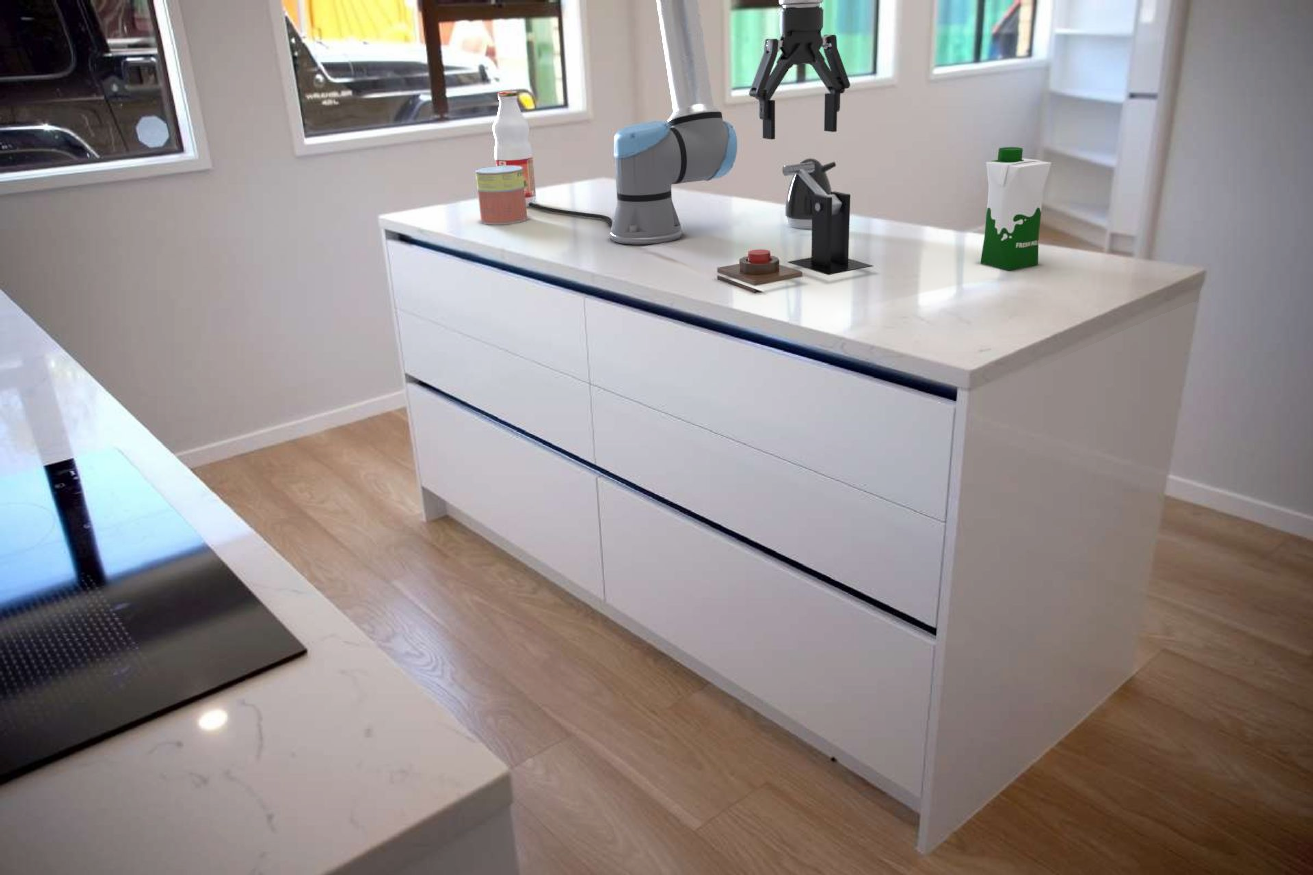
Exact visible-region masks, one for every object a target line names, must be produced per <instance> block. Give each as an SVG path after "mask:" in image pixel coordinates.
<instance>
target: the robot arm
mask: <svg viewBox="0 0 1313 875" xmlns="http://www.w3.org/2000/svg"><path fill="white" fill-rule="evenodd" d="M823 3H824V0H778V5H780V6H782V8H780V11H779V12H778V18H779V19H778V20H779V21H778V29H779V31H780V38H779V39H778V38H766V39H765V40H764V46H763V54H762V56H761V58H760V61H759V65H758V67H757V69H756V73H755V75H754V77H753V81H752V83H751V85H750V88H749V91H748V95H749V97H751V98H755V99H756V100H758V109H759V111H758V115H759V119H760V120H762V139H764V140H765V139H766V140H776V100H775V99H772V97H774V94H775V93H776V91H777V89H778V87H779V86H780V85H781V83H782V81H783V79H784V78H785V76H786V75H787V73H788V72H789V71H790V69H791V68H792V67H793V66H795V65H796V66H799V65H800V66H801V65H810V66H811V67H812V68H813V70H814V72H815V73H816V75H817V76H818V77H819V79H820V81H821V82H822V83H823V85H824V86H825V87H826V90H827V91H828V92H826V93H824V111H823V112H824V113H823V114H824V115H823V116H824V119H823V120H824V121H823V122H824V123H823V125H824V127H823V130H824V132H830V133H836V132H837V129H838V112H840V110H841V94H844V93H845V91H846V89H847V90H848V89H850V87H851V83H850V80H849V77H848V74H847V71H846V69H845V66H844V63H843V60H842V57H841V55H840V52H839V49H838V39H837V35H836V34H824V35H823V36H822V30H823V28H824V8H823V7H822V6H821V4H823ZM656 7H657V12H658V20H659V26H660V33H661V40H662V46H663V52H664V59H665V65H666V72H667V78H668V85H669V91H670V98H671V103H672V113H671V115H670V117H669V118H668V119H667V121H663V120H654V121H649V122H646V121H645V122H640V123H635V124H633V125H628V126H625V127H622V128H621V129H619V130H618V131H617V132H616V133H615V135H614V137H613V153H612V154H613V160H614V174H615V189H616V206H615V210H614V214H613V219H612V218H611V217H610V216H608V215H604V214H600V213H599V214H598V213H590V212H582V211H573V210H567V209H562V208H555V207H549V206H544V205H540V204H537V203H536V204H534V203H531V202H530V203H529V206H530V207H531V208H533V209H536V210H541V211H544V212H549V213H555V214H562V215H566V216H567V215H568V216H574V217H575V216H576V217H583V218H592V219H599V220H603V221H606V222H607V223H608V225H609V226H610V240H611V241H612V242H614V243H618V244H622V245H638V246H641V245H642V246H644V245H645V246H646V245H658V244H663V243H669V242H673V241H676V240H679V239H680V238H681V237H682V236H683V235H682V234H683V233H682V225H681V222H680V218H679V216H678V214H677V210H676V208H675V205H674V203H673V199H672V198H673V196H672V186H673V185H678V184H686V183H687V184H688V183H695V182H703V181H705V182H709V181H712V180H715V179H719V178H720V179H721V178H723V177H725V176H727V175H728V174H729V173H730V171H732V169H733V166H734V164H735V162H736V158H737V153H738V138H737V133H736V130H735V128H734V126H733V125H732V124H731V122H728V121H727V120H724V118H723V113H722V110H721V109H720V108H718V107H717V106H715V104H714V99H713V93H712V86H711V80H710V79H711V78H710V74H709V66H708V59H707V53H706V52H707V51H706V46H705V45H706V44H705V39H704V38H705V37H704V32H703V24H702V19H701V18H702V17H701V12H700V11H701V10H700V4H699V0H656ZM821 48H822V49H823V53H824V55H823V54H822V52H821ZM780 51H781V53H780V55H779V57H778V58H777V56H778V53H779V52H780ZM824 56H825V57H824ZM776 59H777V60H776ZM826 61H827V62H826ZM775 62H776V64H775ZM774 65H775V66H774ZM773 67H774V68H773ZM530 207H529V208H530Z"/></svg>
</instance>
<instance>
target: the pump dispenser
mask: <svg viewBox="0 0 1313 875" xmlns="http://www.w3.org/2000/svg"><path fill="white" fill-rule="evenodd" d="M809 162H812V163H814V166H815V169H814V171H813V172H810V173H808V174H809V175H810V176H811V177H812V178H813V179H814V180H815V182H816V183H817V184H818V185H819V186H820V187H821V188H822V189H823V190H824V191H825V192H826V194H827V195H830V194H831V192H833V190H832V186H831V183H830V180H829V176H828V175H827V172H828V171H830V170H831V169H833V168H836V167H837V163H836V161H832V162H829V163H826V164H823V165H822V163H821V162H820V160H817V159H816V158H811V157H810V158H809V157H808V158H805V159H803V160H802V161H801V162H799V164H802V163H809ZM814 194H815V193H814V192H813V190H812V189H811V188H810V187H809V186H808V185H807V184H806V183H805V182H804V181H803V179H802V178H801V177H800V176H799V175H798V174H796V175H792V177H791V180H790V183H789V186H788V190H787V195H786V200H785V207H784V209H785V210H784V215H785V217H786V221H787V223H788V225H789V227H790V228H793V229H798V230H812V195H814Z"/></svg>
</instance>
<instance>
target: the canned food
mask: <svg viewBox="0 0 1313 875" xmlns="http://www.w3.org/2000/svg"><path fill="white" fill-rule="evenodd" d="M474 173H475V179H476V187H477V196H478V206H479V214H480V223H482V224H484V225H490V226H491V225H492V226H494V225H495V226H499V225H501V226H502V225H511V224H519V223H521V222H522V223H523V222H524V221H527V220H528V219H529V217H528V211H527V207H526V199H525V189H524V178H523V167H521V166H496V165H495V166H494V165H493V166H486V167H480V168H476V169H475V170H474Z"/></svg>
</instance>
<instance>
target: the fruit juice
mask: <svg viewBox="0 0 1313 875" xmlns="http://www.w3.org/2000/svg"><path fill="white" fill-rule="evenodd" d="M518 97H519V94H518V91H517V90H502V91H497V98H498V100H499V106H498V111H497V115H496V118H495V120H494V122H493V124H492V133H493V136H494V139H495V146H494V160H495V166H521V167H523V178H524V189H525V199H526V208H530V206H529V203H530V202H531V203H534V204H537V192H536V190H537V189H536V180H535V171H534V170H535V169H534V160H533V159H534V158H533V151H532V150H533V149H532V145H531V143H530V140H529V136H530V125H529V122H528V120H527V119H526V118H525V116H524V115H523V113H522V111H521V108H520V106H519V103H518Z"/></svg>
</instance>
